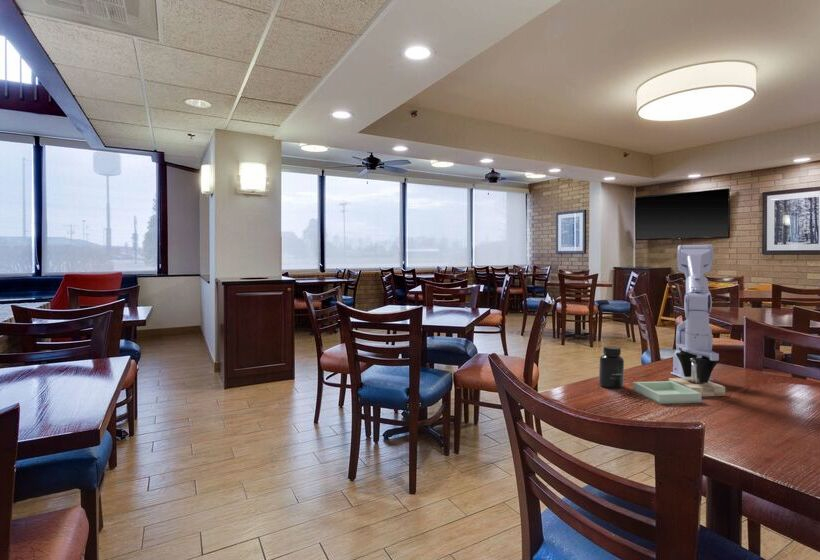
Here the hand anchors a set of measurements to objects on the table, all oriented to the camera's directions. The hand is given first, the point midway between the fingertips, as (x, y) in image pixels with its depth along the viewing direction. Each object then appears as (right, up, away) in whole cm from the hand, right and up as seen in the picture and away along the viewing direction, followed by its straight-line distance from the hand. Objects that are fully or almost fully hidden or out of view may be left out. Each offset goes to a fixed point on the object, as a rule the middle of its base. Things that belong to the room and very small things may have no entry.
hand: (695, 379), depth 127 cm
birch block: (0, -3, 0) cm, 3 cm away
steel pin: (0, -3, 0) cm, 3 cm away
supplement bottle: (-22, -4, +6) cm, 23 cm away
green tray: (-12, -4, -5) cm, 13 cm away
